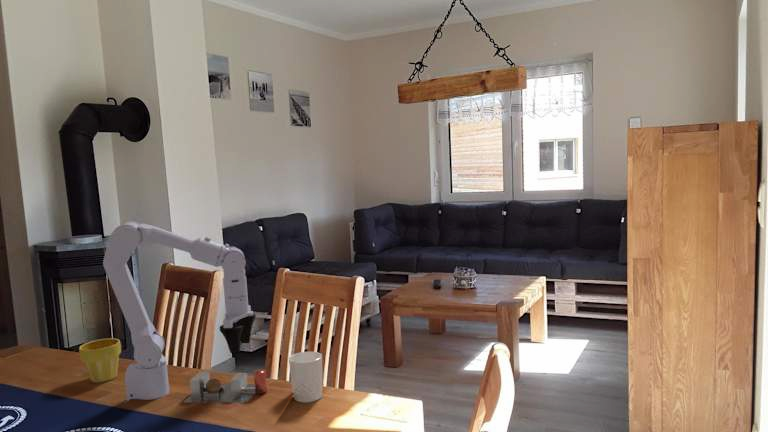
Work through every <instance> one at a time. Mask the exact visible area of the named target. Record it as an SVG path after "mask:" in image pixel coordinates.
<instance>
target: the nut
mask: <svg viewBox="0 0 768 432" xmlns="http://www.w3.org/2000/svg"><path fill="white" fill-rule="evenodd" d="M221 384H222V382H221V381H220V380H219V379H218V378H215V377H213V378H210V380H209V381H208V382H207V383H206V390H207V391H208V392H209V393H215V392H218V391H219V390H220V388H221Z"/></svg>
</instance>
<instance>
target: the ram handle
mask: <svg viewBox="0 0 768 432" xmlns="http://www.w3.org/2000/svg"><path fill="white" fill-rule="evenodd" d="M253 377H254V379H253V380H254V384H255V387H246V386H247V385H248V384H249V383H248V373H247V372H237V373H235V375H234V376H233V377H232V378H231V379H230V384H231V392H242V391H243V389H244V392H256V393H255V394H258V395H259V394H265V393H267V391H268V385H267V384H268V383H267V370H266V369H262V368H261V369H256V370H254V371H253Z"/></svg>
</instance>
